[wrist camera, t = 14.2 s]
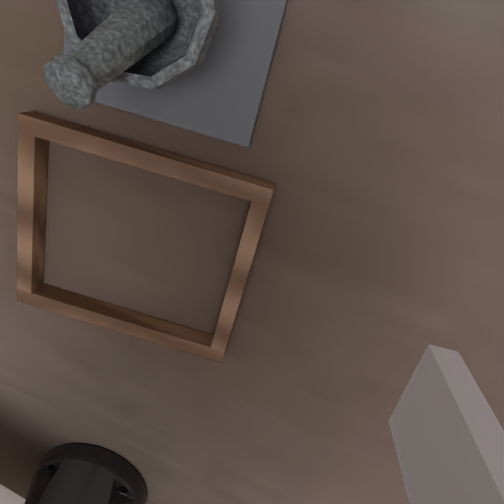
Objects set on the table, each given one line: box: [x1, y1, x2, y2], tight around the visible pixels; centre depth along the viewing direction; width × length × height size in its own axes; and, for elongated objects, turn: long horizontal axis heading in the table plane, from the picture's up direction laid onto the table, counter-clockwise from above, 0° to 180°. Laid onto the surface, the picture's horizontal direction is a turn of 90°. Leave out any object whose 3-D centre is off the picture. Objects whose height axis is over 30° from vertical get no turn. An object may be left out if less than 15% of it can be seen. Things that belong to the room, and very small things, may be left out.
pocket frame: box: [17, 111, 275, 363], centre depth 37 cm, size 19×22×2 cm
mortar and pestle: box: [44, 0, 221, 109], centre depth 24 cm, size 11×9×12 cm
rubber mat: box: [63, 0, 288, 148], centre depth 30 cm, size 14×16×1 cm
